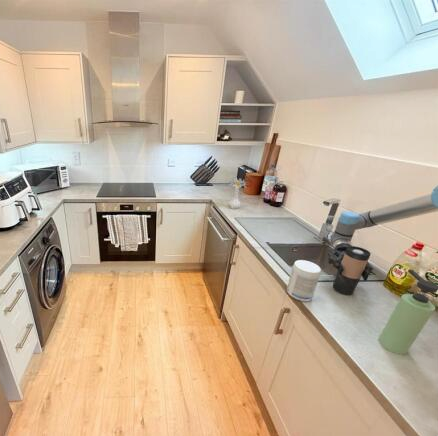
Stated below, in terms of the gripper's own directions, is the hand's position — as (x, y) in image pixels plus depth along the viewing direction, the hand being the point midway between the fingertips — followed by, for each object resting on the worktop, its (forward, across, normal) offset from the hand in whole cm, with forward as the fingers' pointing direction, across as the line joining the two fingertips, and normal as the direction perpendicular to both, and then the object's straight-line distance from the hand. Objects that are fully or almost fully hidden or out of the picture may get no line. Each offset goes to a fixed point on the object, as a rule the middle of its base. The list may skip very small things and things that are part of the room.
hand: (353, 274), depth 96 cm
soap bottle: (+21, -10, -11) cm, 26 cm away
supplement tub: (+8, +17, -12) cm, 22 cm away
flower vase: (-88, +63, -11) cm, 108 cm away
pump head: (+18, -10, +11) cm, 23 cm away
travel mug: (-5, 0, -11) cm, 12 cm away
